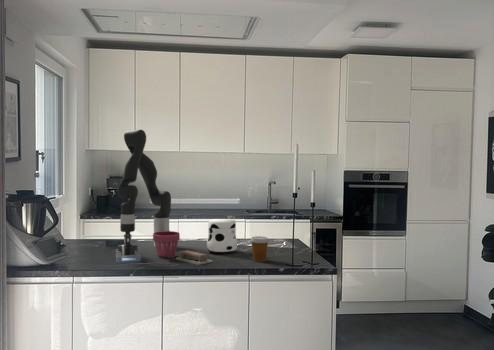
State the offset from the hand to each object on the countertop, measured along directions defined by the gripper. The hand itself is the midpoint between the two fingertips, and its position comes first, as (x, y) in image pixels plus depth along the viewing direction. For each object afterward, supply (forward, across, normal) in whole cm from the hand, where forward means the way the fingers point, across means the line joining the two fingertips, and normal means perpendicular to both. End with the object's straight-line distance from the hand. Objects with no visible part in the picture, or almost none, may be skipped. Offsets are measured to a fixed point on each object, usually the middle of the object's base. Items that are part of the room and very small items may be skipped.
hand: (127, 254), depth 253 cm
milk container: (+1, 0, -52) cm, 52 cm away
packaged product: (+2, -18, -33) cm, 38 cm away
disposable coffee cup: (+1, -26, -66) cm, 71 cm away
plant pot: (+1, -5, -20) cm, 21 cm away
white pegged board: (+1, -6, 0) cm, 6 cm away
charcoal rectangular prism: (0, 0, 0) cm, 0 cm away
